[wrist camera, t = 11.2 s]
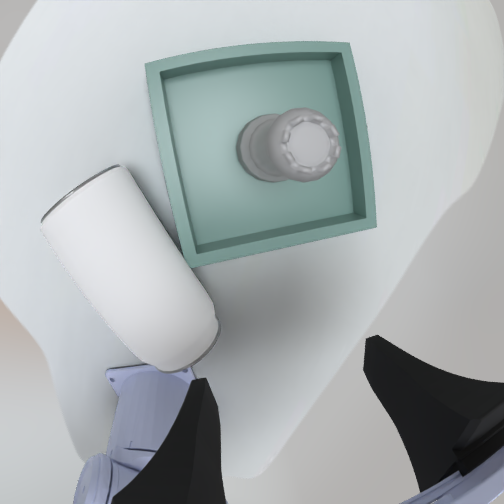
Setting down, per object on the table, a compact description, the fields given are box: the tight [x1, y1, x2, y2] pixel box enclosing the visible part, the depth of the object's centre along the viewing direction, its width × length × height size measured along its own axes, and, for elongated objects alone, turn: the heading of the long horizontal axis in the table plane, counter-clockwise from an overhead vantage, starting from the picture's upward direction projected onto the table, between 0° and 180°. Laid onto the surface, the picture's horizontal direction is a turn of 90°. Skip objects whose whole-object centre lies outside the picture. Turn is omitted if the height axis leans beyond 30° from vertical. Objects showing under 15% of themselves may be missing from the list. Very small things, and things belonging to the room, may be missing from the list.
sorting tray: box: [145, 41, 377, 268], centre depth 17 cm, size 13×13×2 cm
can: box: [40, 165, 221, 374], centre depth 17 cm, size 6×6×12 cm
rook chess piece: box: [236, 107, 342, 183], centre depth 14 cm, size 4×4×8 cm
